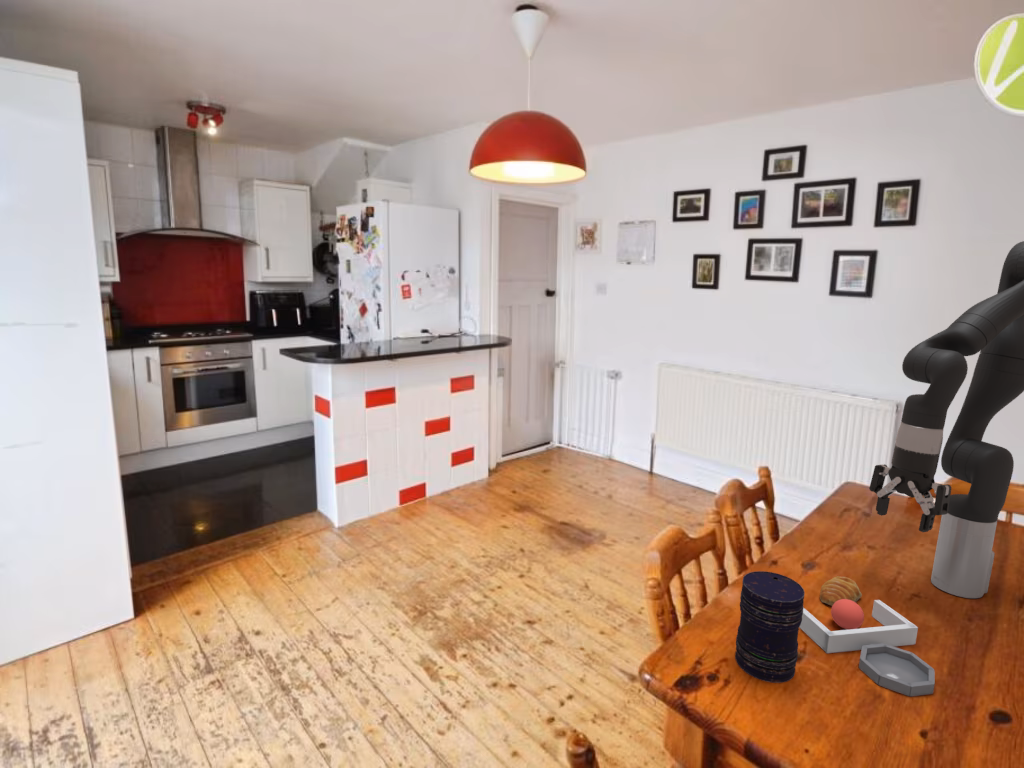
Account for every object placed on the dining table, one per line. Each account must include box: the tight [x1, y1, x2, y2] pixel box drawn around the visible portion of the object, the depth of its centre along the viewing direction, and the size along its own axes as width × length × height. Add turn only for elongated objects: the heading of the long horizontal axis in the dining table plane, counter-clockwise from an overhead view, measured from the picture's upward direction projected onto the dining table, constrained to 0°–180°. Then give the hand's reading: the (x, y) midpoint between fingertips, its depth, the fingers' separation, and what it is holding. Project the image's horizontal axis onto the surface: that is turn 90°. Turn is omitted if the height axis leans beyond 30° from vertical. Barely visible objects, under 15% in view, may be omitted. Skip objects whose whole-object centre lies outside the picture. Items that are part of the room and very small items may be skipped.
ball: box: [830, 599, 865, 630], centre depth 110 cm, size 6×6×6 cm
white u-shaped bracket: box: [799, 599, 919, 654], centre depth 108 cm, size 18×9×4 cm, turn 99°
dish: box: [858, 643, 936, 697], centre depth 98 cm, size 10×10×2 cm
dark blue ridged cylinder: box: [734, 570, 805, 684], centre depth 99 cm, size 10×10×15 cm
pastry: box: [819, 575, 863, 607], centre depth 120 cm, size 9×7×4 cm
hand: (901, 522), depth 117 cm, fingers open, 8 cm apart
